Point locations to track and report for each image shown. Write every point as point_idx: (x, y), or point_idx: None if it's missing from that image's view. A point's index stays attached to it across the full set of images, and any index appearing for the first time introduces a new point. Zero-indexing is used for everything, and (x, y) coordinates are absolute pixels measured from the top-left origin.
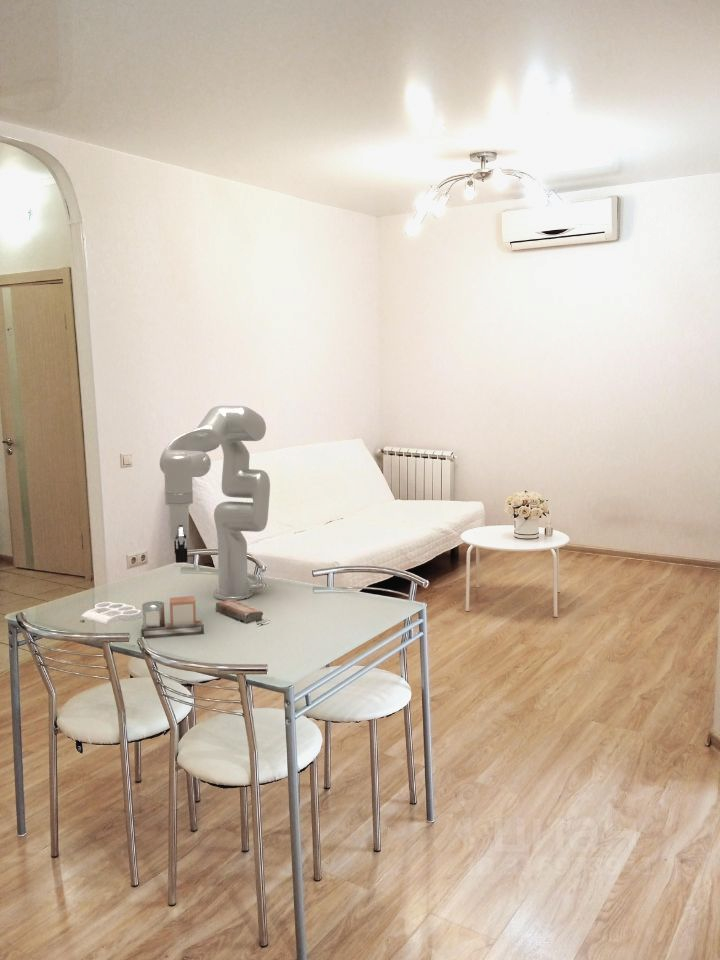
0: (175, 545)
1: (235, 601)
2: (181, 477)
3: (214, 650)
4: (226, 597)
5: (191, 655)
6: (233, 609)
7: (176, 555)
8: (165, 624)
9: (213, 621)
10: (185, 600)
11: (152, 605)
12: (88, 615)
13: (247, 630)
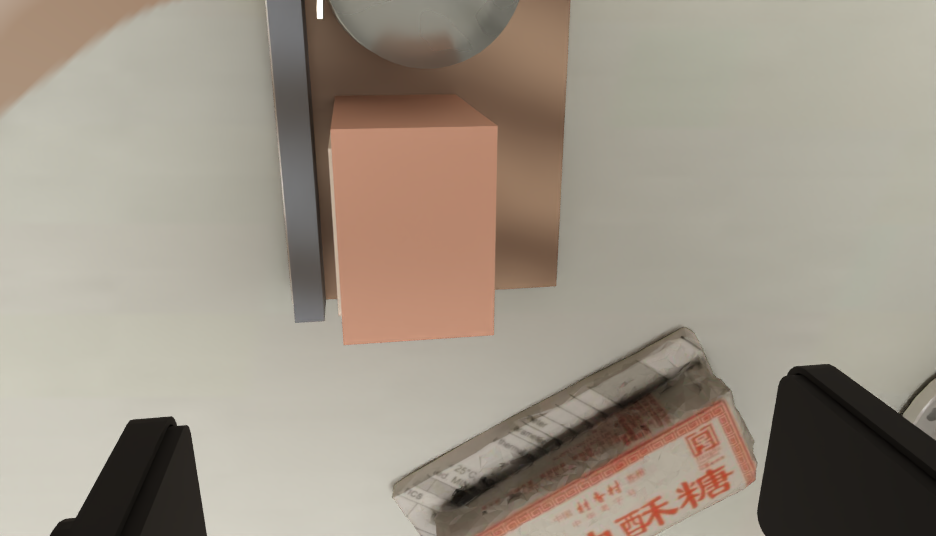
0: (899, 477)
1: (702, 495)
2: None
3: (61, 347)
4: (919, 415)
5: None
6: (560, 486)
7: (87, 525)
8: (539, 59)
9: (582, 340)
10: (379, 266)
11: None
12: None
13: (383, 505)
